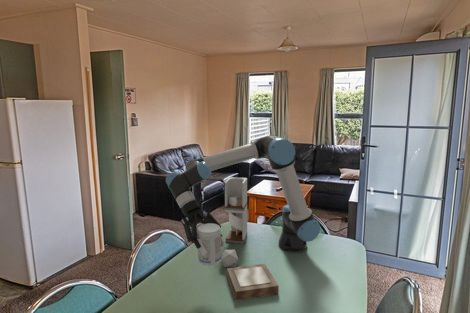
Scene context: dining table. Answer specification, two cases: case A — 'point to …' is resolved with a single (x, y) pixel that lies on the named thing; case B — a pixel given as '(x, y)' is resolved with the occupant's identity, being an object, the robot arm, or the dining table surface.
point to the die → (229, 258)
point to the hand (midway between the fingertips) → (214, 249)
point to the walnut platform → (252, 282)
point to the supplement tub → (210, 243)
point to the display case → (236, 208)
